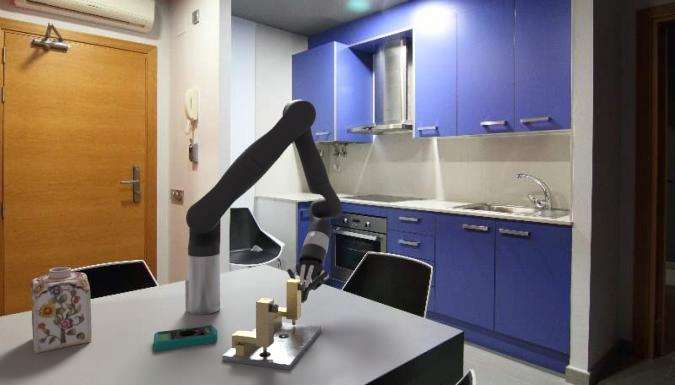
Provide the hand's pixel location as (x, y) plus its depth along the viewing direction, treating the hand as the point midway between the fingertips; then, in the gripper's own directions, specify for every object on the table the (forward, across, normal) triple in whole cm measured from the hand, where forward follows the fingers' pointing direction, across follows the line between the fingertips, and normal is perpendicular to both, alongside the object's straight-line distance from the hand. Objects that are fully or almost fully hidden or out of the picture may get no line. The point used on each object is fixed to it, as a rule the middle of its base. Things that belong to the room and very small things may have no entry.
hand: (300, 301), depth 118 cm
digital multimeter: (+19, -23, -9) cm, 31 cm away
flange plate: (+15, -1, -6) cm, 16 cm away
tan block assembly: (+14, -2, -7) cm, 16 cm away
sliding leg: (+7, -2, 0) cm, 7 cm away
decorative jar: (+24, -53, -15) cm, 60 cm away
